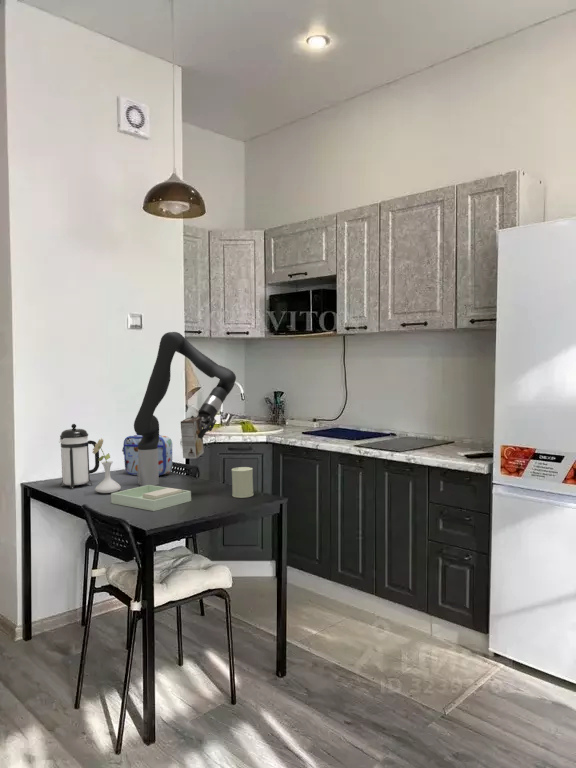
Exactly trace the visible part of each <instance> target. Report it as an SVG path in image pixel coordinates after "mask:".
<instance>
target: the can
mask: <svg viewBox="0 0 576 768" xmlns="http://www.w3.org/2000/svg"><path fill="white" fill-rule="evenodd" d="M231 478H232V479H231V482H232V483H231V484H232V486H231V489H232V490H231V491H232V494H231V495H232V497H233V498H236V499H237V498H240V499H242V498H245V499H246V498H250V497H253V496H254V479H253V467H249V466H240V467H233V468H231Z"/></svg>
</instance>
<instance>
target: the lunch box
mask: <svg viewBox="0 0 576 768" xmlns="http://www.w3.org/2000/svg"><path fill="white" fill-rule="evenodd" d="M141 439H142V435H138V434H137V433H136V432H135V435H129V436H126V437H125V438H124V440H123V447H122V449H121V452H123V453H122V454H123V456H124V457H123V458H124V459H123V460H124V468H125V471H126V473H127V474H128V475H131V476H132V475H133V476H138V473H137V465H138V443H139V442H140V441H141ZM172 470H173V441H172V439H171V438H170V437H169V436H166V435H162V434H161V435H160V434H159V442H158V472H159V476H162V475H165V474H169V473H171V471H172Z"/></svg>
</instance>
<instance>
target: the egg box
mask: <svg viewBox="0 0 576 768" xmlns="http://www.w3.org/2000/svg"><path fill="white" fill-rule="evenodd" d="M181 490H182V489H180V488H172V487H167V488H165V489H161V490H157V491H153V492H149V493H145V494H143V495H142V498H144V499H150V500H156V499H160V498H164V497H168V496H172V495H176V494H180V493H182V491H181Z"/></svg>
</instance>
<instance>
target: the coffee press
mask: <svg viewBox="0 0 576 768" xmlns="http://www.w3.org/2000/svg"><path fill="white" fill-rule="evenodd" d="M88 437H89V433H88V432H87V430H85V429H83V428H77V424H75V423H72V424H71V428H69V429H65V430H63V431H62V432H61V434H60V435H59V440H58V443H60V451H61V454H60V456H61V473H62V474H61V477H62V478H61V479H62V480H61V483H60V485H61V486H62V484H63V485H64V486H65V485H66V486H70V489H71V488H72V487H74V488H76V487H75V486H79V485H85V484H86V485H88V484H90V485H91V486H92V485H93V482H92V481H91V480H90V479H91V478H90V475H91V474H94V473H96V472H97V471H98V469H99V467H100V461H98V460H99V458H100V450H99V451H98V452H97V453H96V454H94V467H93V468H92V469H90V457H89V456H90V455H89V454H90V452H89V445H92V446H93V448H94V447H95V444H97V443H98V442H96V441H95V440H88V439H89V438H88ZM88 482H89V483H88ZM60 485H59V486H60Z"/></svg>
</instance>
